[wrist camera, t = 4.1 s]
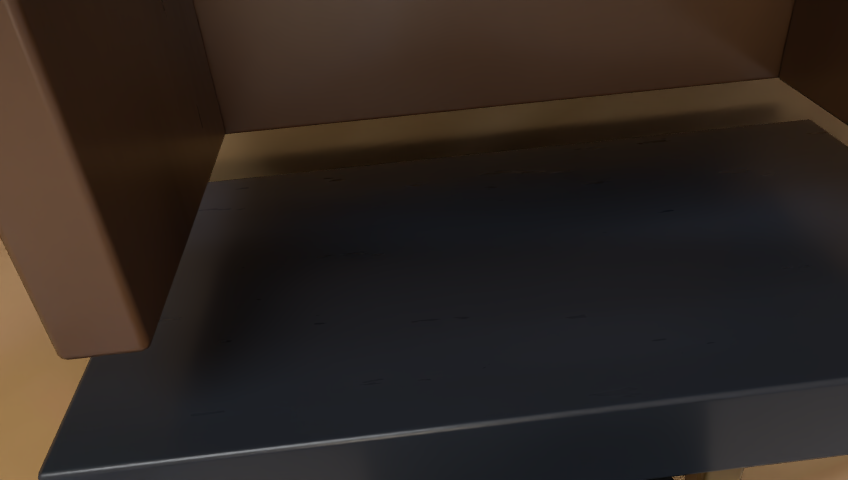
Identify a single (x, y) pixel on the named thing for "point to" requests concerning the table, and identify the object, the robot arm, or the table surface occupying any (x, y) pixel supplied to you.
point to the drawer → (427, 242)
